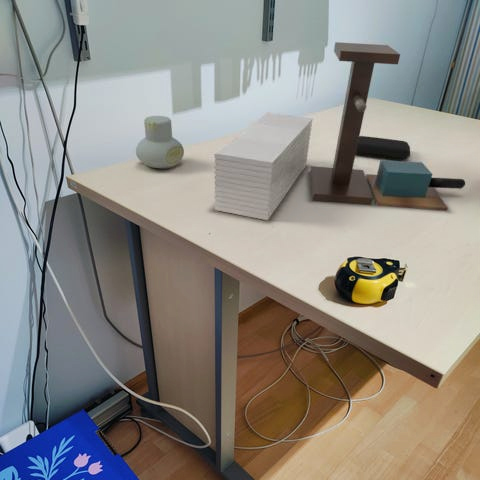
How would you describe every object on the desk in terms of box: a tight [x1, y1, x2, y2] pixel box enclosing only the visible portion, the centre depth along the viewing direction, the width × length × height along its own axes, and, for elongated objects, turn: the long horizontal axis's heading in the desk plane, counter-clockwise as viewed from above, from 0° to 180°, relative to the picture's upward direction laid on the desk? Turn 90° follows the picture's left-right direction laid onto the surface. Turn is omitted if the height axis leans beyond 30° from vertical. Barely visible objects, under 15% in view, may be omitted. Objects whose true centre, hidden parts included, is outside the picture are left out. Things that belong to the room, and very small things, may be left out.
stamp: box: [375, 159, 466, 198], centre depth 90 cm, size 18×7×5 cm, turn 89°
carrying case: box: [356, 135, 411, 161], centre depth 111 cm, size 11×3×15 cm
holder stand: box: [309, 41, 401, 206], centre depth 84 cm, size 12×18×26 cm, turn 175°
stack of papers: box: [214, 112, 314, 221], centre depth 88 cm, size 32×11×11 cm, turn 160°
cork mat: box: [365, 173, 448, 212], centre depth 92 cm, size 14×16×1 cm
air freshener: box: [135, 115, 185, 169], centre depth 96 cm, size 11×8×10 cm
